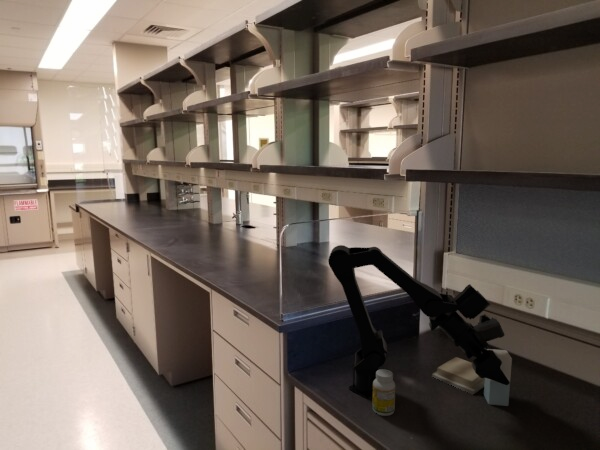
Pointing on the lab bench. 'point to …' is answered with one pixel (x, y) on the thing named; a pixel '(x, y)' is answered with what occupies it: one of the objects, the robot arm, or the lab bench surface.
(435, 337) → the lab bench surface
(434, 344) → the lab bench surface
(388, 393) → the supplement bottle
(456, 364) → the tower base
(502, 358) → the white and blue box
